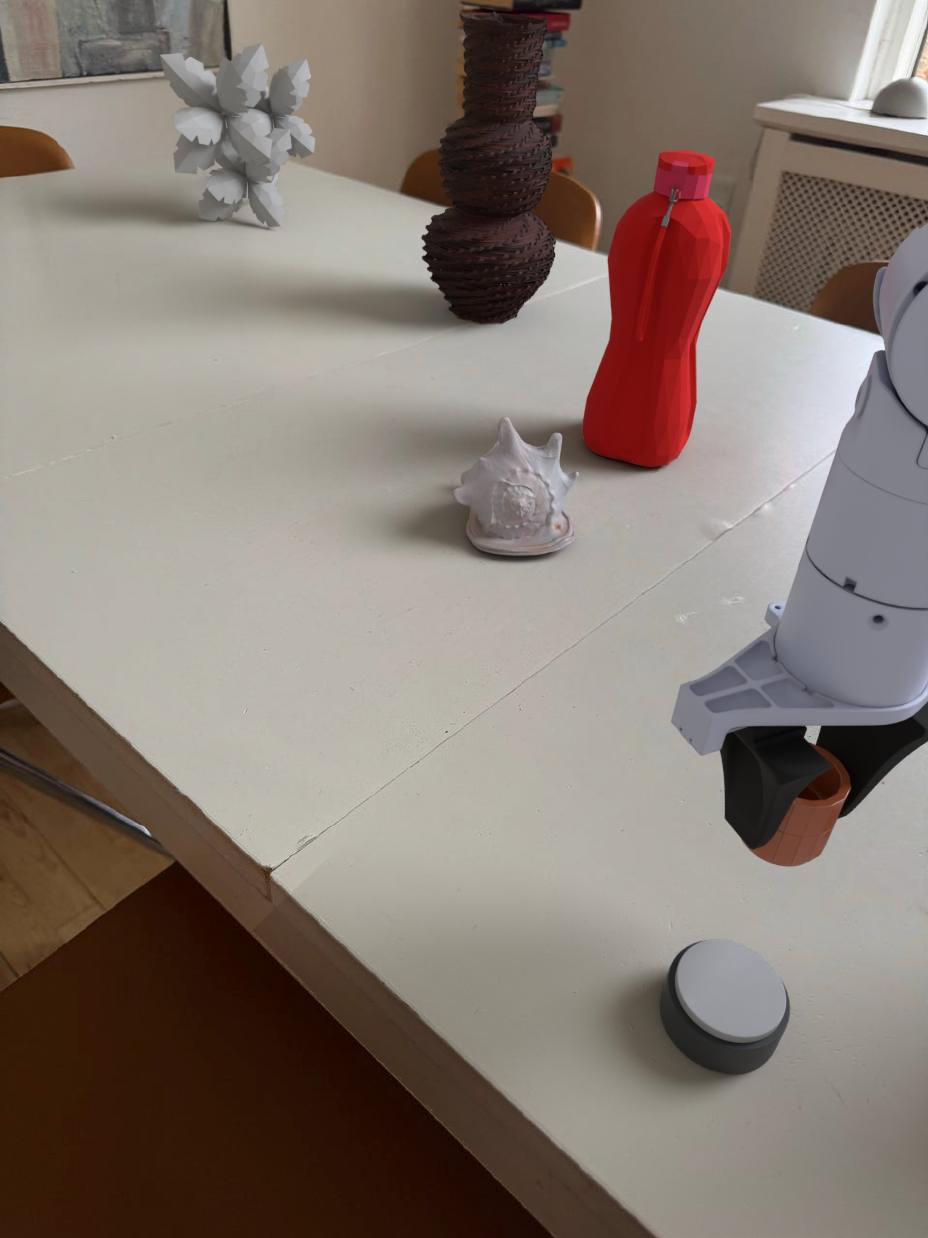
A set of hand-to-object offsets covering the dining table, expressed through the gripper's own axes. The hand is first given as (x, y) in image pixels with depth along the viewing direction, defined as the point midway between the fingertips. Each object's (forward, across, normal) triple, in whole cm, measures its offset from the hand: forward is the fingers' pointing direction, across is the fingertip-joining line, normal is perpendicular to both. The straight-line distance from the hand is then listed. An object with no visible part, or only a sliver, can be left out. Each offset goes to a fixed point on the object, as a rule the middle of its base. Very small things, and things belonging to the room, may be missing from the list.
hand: (786, 816), depth 43 cm
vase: (+9, -24, -82) cm, 86 cm away
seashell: (+9, -6, -39) cm, 40 cm away
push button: (+8, +4, +3) cm, 10 cm away
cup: (+1, 0, 0) cm, 1 cm away
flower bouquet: (+9, -8, -132) cm, 132 cm away
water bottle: (+9, -22, -46) cm, 52 cm away
